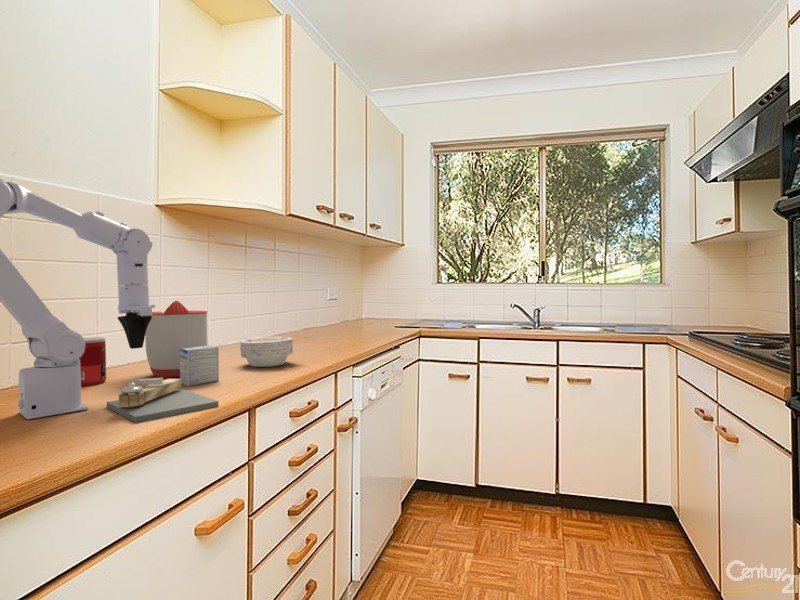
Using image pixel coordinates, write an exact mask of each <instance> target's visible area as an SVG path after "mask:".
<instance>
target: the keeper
mask: <svg viewBox="0 0 800 600" xmlns="http://www.w3.org/2000/svg"><path fill="white" fill-rule="evenodd" d="M163 380H164V378H162V377H152V378H150V377H149V378H136V379H135V378H134V379H133V380H132V383H135V386H142V387H144V386H148V385H155V384H162V383H163Z"/></svg>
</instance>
